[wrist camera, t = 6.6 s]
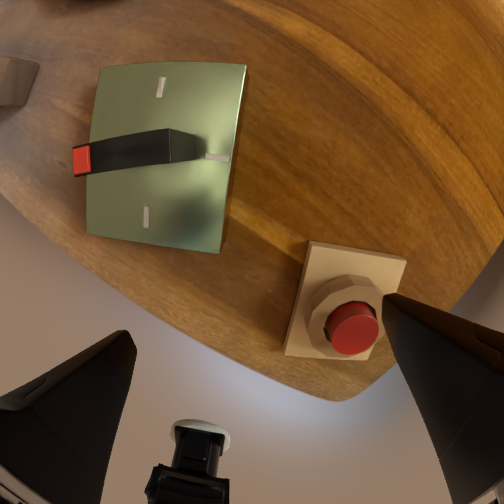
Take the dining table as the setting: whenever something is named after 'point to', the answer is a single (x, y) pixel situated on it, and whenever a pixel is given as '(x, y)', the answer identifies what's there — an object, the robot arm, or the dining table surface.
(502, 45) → the dining table surface
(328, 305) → the button block
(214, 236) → the panel
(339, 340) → the red button
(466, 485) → the robot arm
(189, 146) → the red-capped black block
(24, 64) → the wooden block
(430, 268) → the dining table surface
